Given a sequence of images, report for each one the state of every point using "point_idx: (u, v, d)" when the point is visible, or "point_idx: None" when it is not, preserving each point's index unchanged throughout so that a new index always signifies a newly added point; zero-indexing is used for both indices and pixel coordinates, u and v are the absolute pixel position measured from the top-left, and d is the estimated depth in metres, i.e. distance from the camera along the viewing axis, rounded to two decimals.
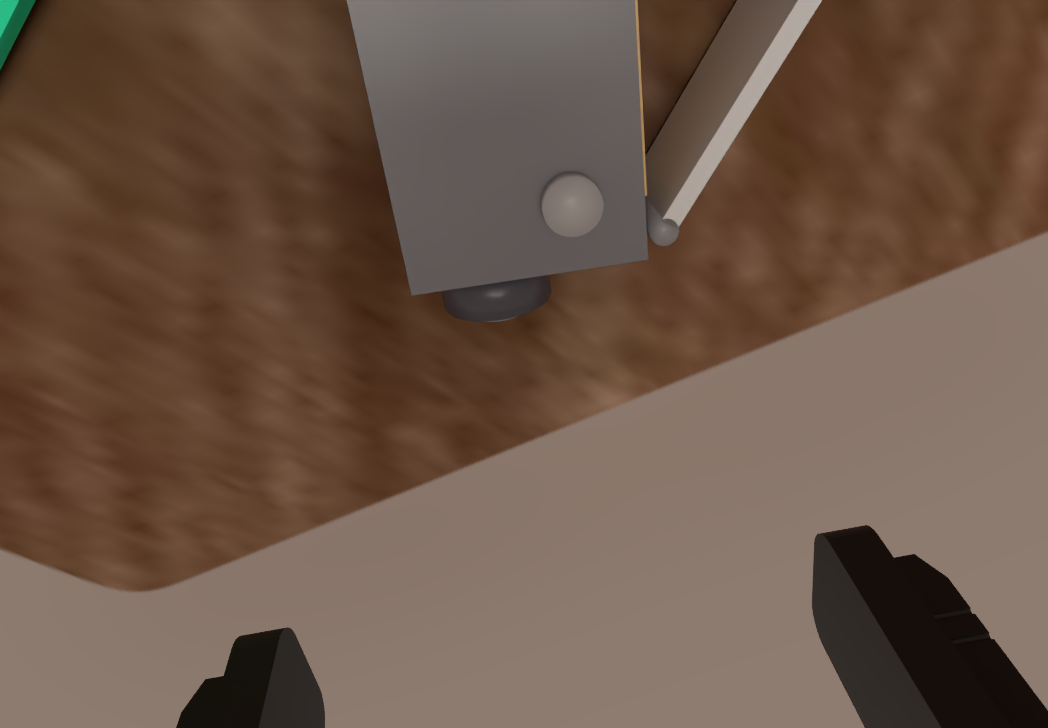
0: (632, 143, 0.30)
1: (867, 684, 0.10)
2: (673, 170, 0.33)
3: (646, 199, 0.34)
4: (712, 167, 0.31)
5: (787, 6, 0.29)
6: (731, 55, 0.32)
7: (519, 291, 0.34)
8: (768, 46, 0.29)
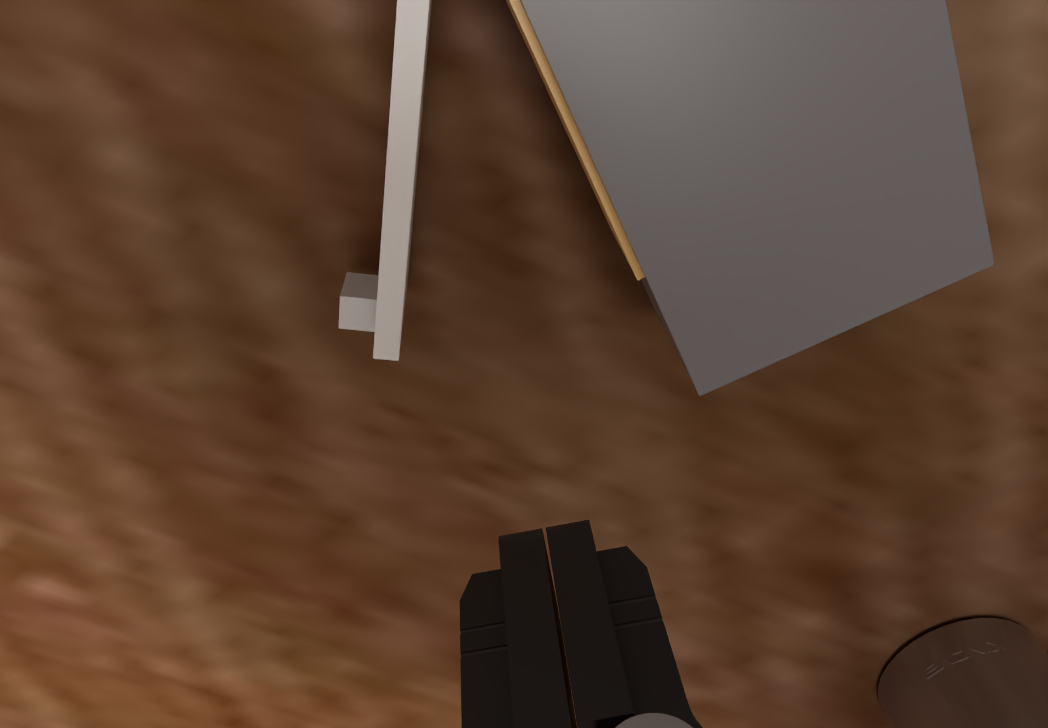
0: (541, 8, 0.20)
1: None
2: None
3: None
4: (402, 12, 0.20)
5: (409, 237, 0.23)
6: None
7: None
8: (412, 194, 0.22)
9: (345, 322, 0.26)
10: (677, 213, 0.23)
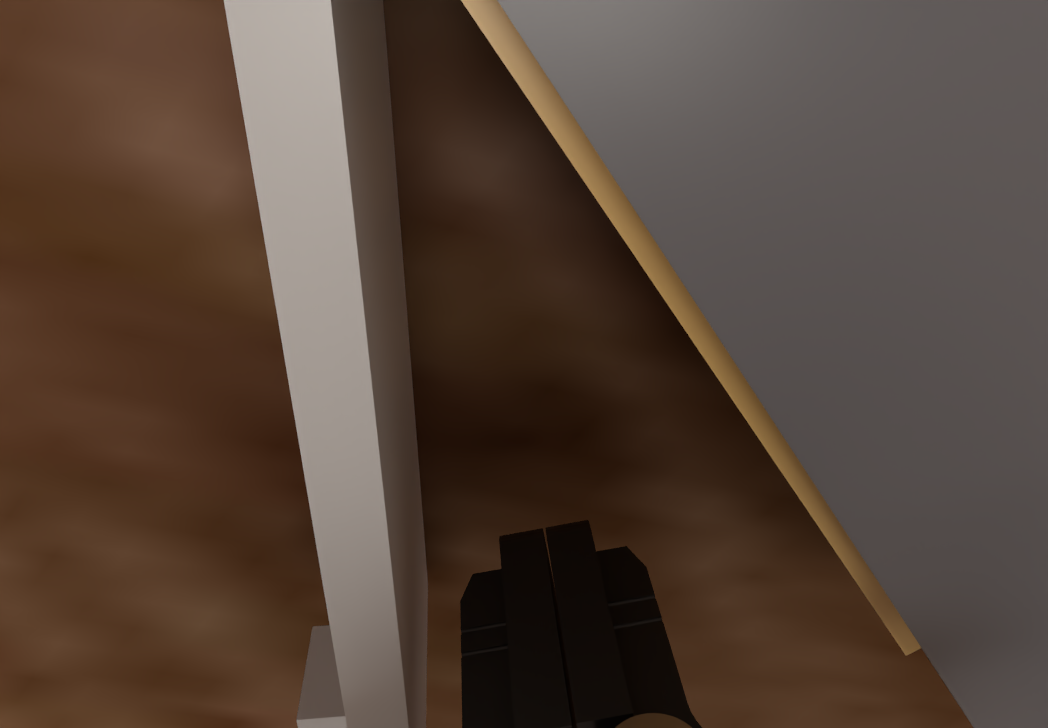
0: (678, 195, 0.07)
1: None
2: (364, 98, 0.08)
3: None
4: (284, 263, 0.07)
5: (407, 668, 0.11)
6: (402, 427, 0.12)
7: None
8: (397, 619, 0.10)
9: None
10: (1024, 566, 0.10)
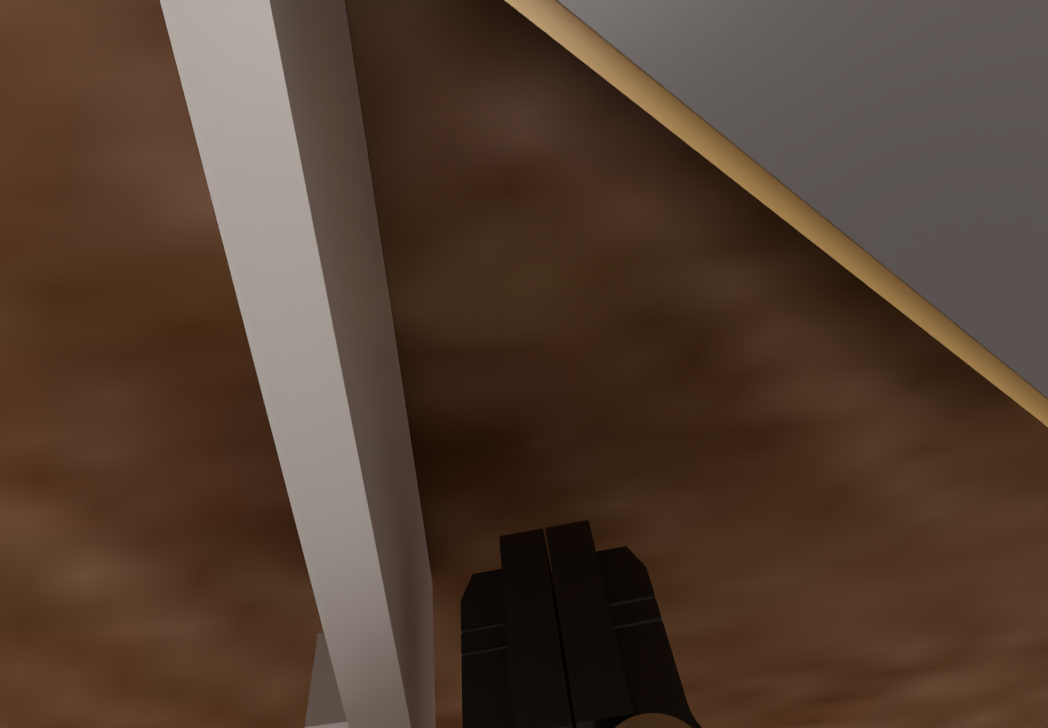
0: (708, 57, 0.06)
1: None
2: (322, 102, 0.08)
3: None
4: (247, 273, 0.07)
5: (407, 669, 0.11)
6: (390, 430, 0.12)
7: None
8: (391, 621, 0.10)
9: None
10: None
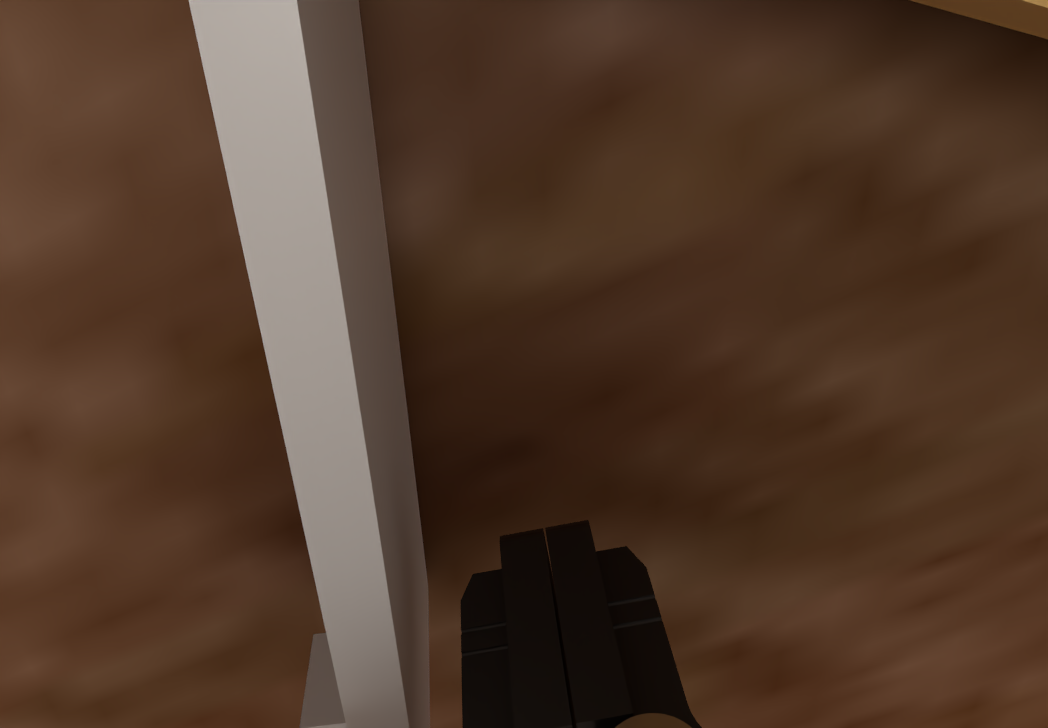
0: None
1: None
2: (339, 102, 0.08)
3: None
4: (263, 270, 0.07)
5: (406, 671, 0.11)
6: (394, 431, 0.12)
7: None
8: (393, 622, 0.10)
9: None
10: None
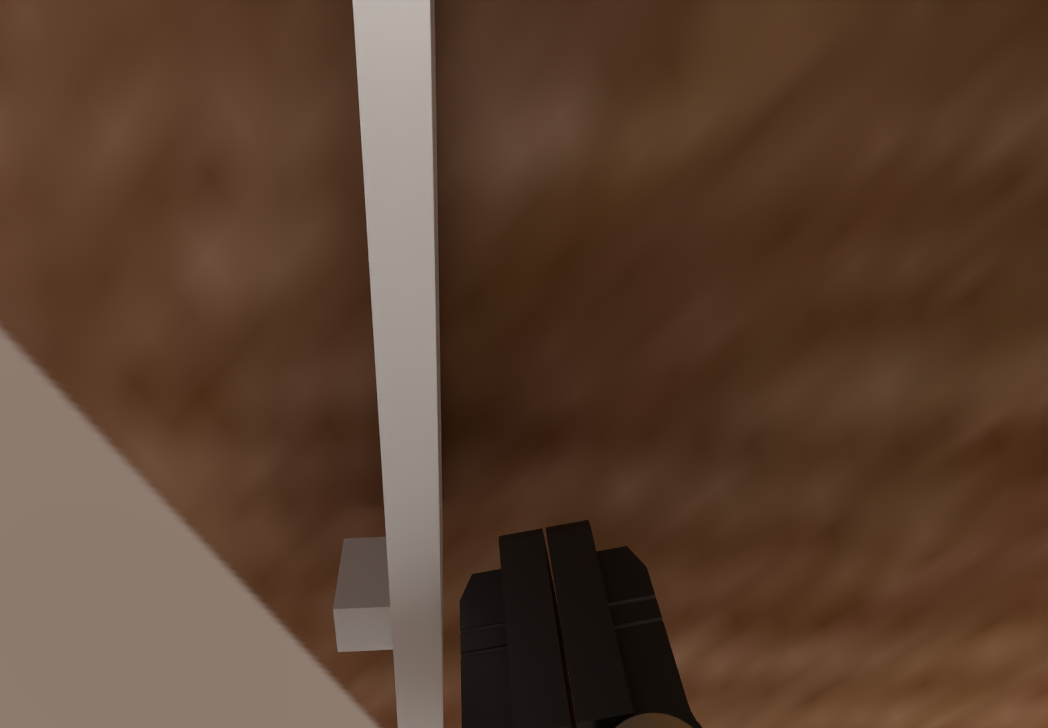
0: None
1: None
2: None
3: None
4: (375, 177, 0.09)
5: None
6: (438, 348, 0.14)
7: None
8: (438, 492, 0.12)
9: (347, 643, 0.16)
10: None
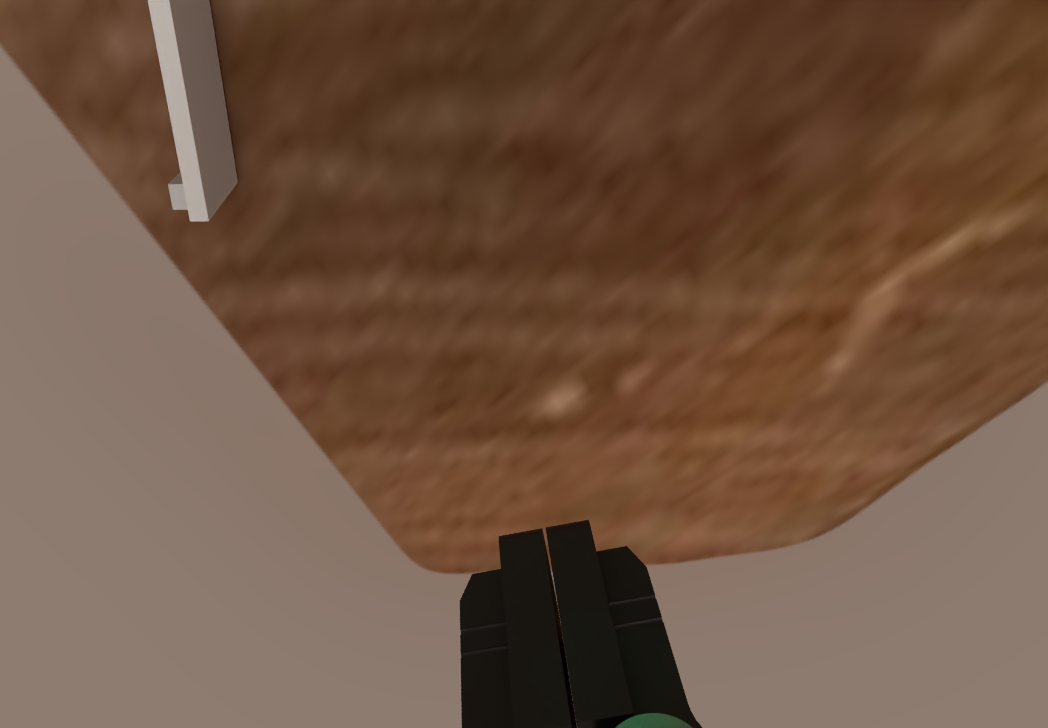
0: None
1: None
2: None
3: None
4: None
5: (196, 128, 0.33)
6: (201, 62, 0.34)
7: None
8: (186, 94, 0.32)
9: (176, 204, 0.36)
10: None
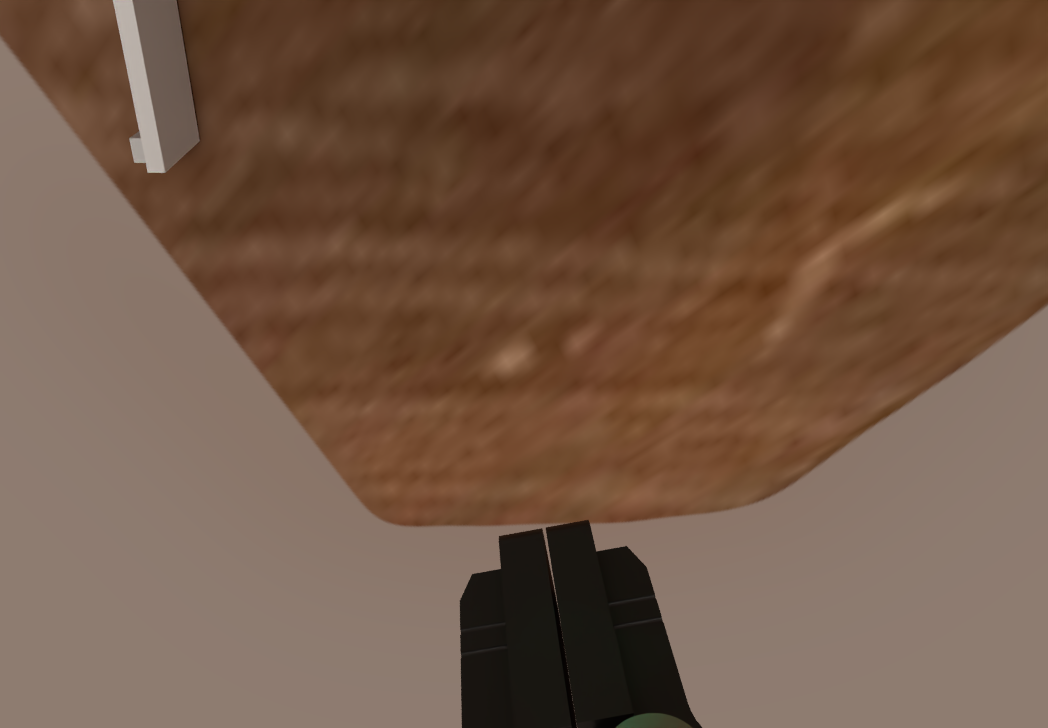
0: None
1: None
2: None
3: None
4: None
5: (152, 84, 0.36)
6: (160, 23, 0.37)
7: None
8: (142, 51, 0.35)
9: (137, 157, 0.39)
10: None
